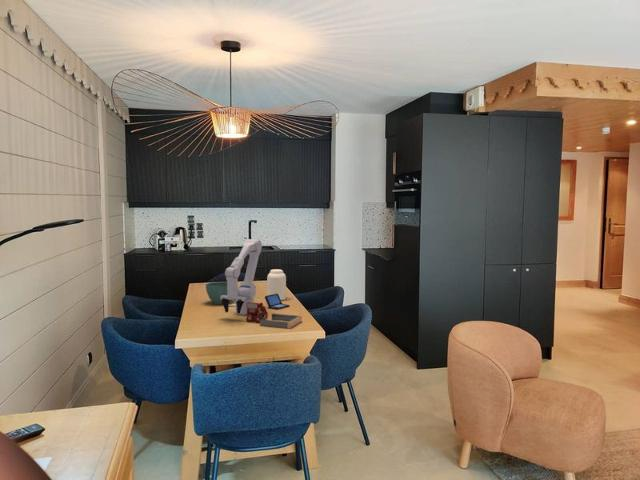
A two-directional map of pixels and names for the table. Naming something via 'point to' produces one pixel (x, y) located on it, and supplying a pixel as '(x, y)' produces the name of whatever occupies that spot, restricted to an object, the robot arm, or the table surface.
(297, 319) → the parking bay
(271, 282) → the white ceramic jar
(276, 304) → the handheld game console
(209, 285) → the plant pot
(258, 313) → the toy fire truck
